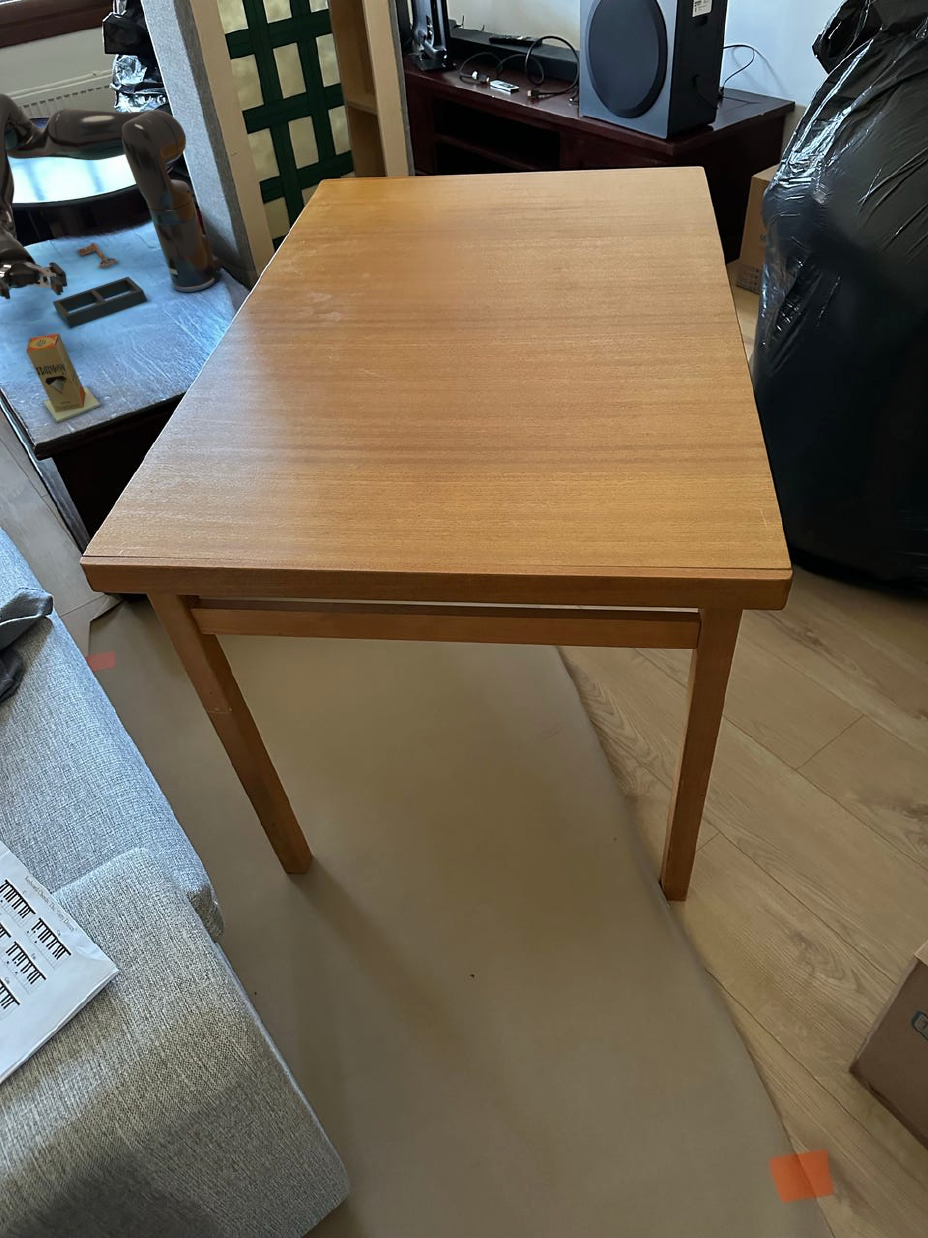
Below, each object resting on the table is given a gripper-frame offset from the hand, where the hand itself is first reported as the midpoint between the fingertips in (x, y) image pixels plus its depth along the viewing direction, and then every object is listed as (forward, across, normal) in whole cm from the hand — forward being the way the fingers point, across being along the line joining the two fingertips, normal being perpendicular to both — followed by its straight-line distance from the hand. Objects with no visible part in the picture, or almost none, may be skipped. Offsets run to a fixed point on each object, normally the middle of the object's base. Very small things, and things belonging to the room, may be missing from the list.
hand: (33, 291), depth 150 cm
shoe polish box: (+12, -1, -16) cm, 20 cm away
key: (-50, -26, -12) cm, 57 cm away
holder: (-24, -18, -13) cm, 32 cm away
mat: (+12, -1, -16) cm, 20 cm away
